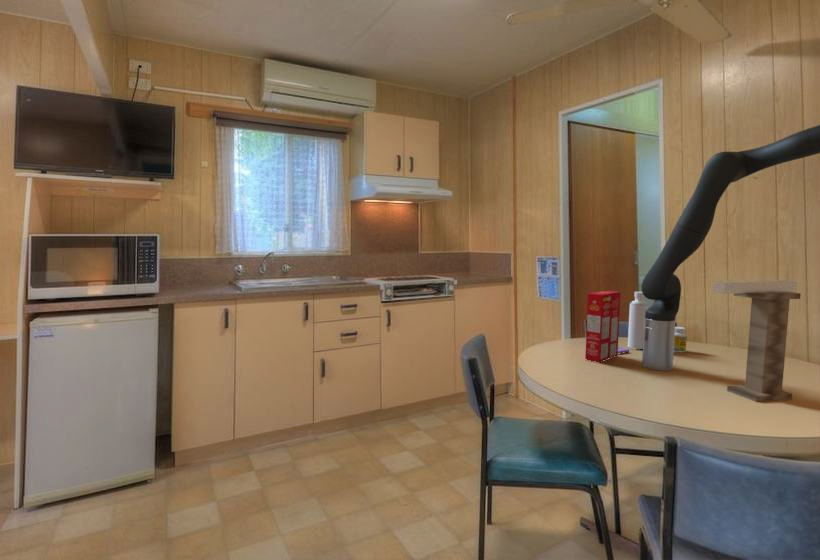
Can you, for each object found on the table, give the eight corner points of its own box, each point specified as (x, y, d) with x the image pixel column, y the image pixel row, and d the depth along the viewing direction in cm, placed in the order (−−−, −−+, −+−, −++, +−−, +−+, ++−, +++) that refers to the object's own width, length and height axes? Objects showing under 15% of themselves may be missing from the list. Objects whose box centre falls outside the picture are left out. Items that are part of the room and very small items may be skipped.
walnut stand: (756, 401, 121) (764, 294, 118) (727, 390, 130) (734, 290, 127) (791, 398, 123) (800, 293, 121) (760, 388, 132) (768, 289, 129)
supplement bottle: (675, 348, 180) (676, 325, 180) (688, 351, 176) (690, 328, 175) (667, 350, 178) (668, 327, 177) (680, 353, 173) (681, 329, 172)
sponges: (616, 355, 171) (616, 351, 171) (591, 348, 182) (591, 344, 182) (629, 354, 174) (629, 349, 173) (604, 346, 185) (604, 342, 185)
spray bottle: (644, 351, 176) (647, 289, 174) (626, 348, 181) (629, 288, 178) (647, 347, 182) (650, 288, 180) (629, 345, 186) (632, 287, 184)
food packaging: (604, 353, 172) (606, 290, 170) (617, 356, 168) (620, 291, 166) (585, 360, 163) (588, 293, 161) (599, 363, 159) (602, 294, 157)
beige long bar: (724, 293, 119) (724, 282, 119) (713, 292, 123) (713, 281, 122) (796, 292, 124) (797, 281, 123) (783, 290, 127) (784, 280, 127)
